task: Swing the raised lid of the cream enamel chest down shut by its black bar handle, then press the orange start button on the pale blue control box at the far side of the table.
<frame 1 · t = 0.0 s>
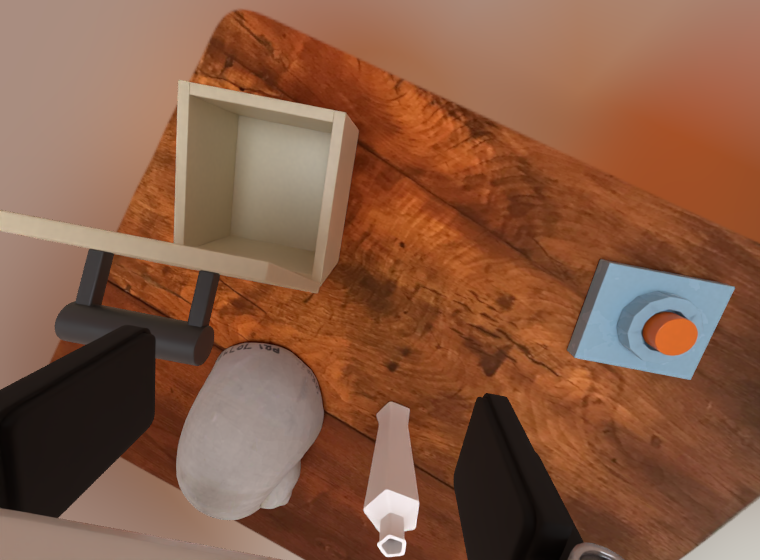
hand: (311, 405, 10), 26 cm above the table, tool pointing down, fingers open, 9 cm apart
chest: (289, 188, 34), on the table
perfume bottle: (395, 416, 41), on the table
lid: (193, 299, 20), point 16 cm above the table, hinge at 70.0°
grey rounded lump: (264, 406, 41), on the table
start button: (669, 333, 32), point 4 cm above the table, slide at 0.1 cm
control box: (640, 317, 36), on the table
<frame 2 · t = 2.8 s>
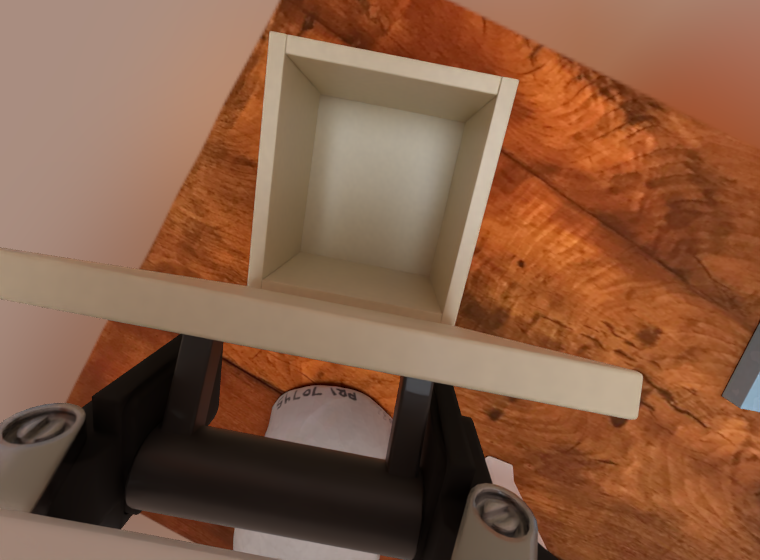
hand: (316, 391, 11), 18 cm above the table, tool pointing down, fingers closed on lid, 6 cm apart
chest: (378, 190, 26), on the table
perfume bottle: (492, 473, 33), on the table
lid: (324, 377, 12), point 16 cm above the table, hinge at 70.0°, touching gripper
grey rounded lump: (330, 460, 33), on the table
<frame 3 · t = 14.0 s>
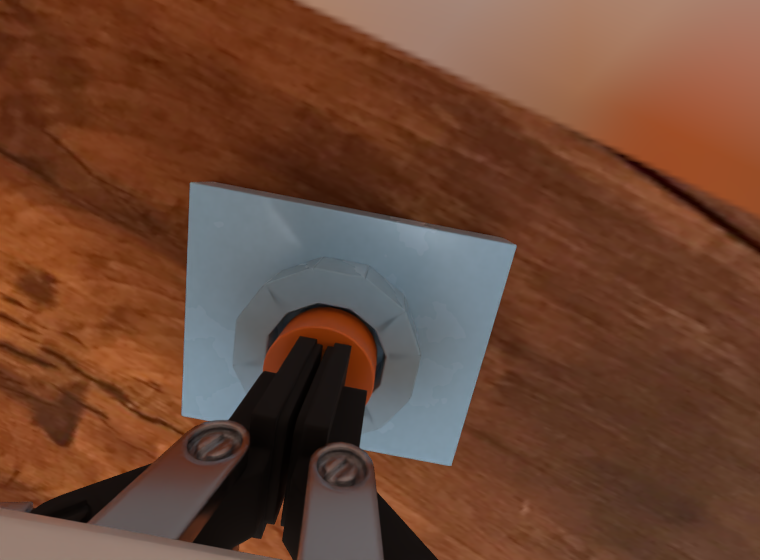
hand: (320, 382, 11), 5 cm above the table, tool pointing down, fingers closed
start button: (323, 364, 12), point 4 cm above the table, slide at -0.1 cm, touching gripper
control box: (339, 322, 16), on the table
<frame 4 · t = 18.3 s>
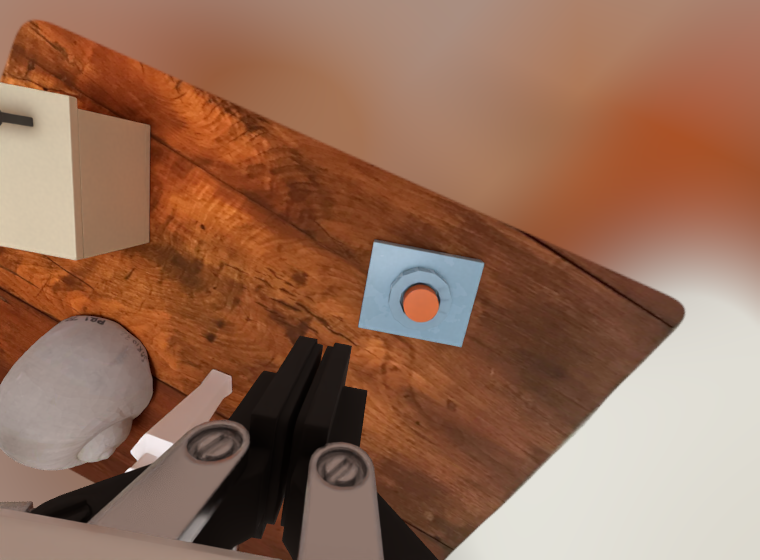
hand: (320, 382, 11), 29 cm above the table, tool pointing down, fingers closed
chest: (97, 176, 39), on the table
perfume bottle: (220, 383, 45), on the table
grey rounded lump: (105, 375, 46), on the table
start button: (420, 303, 37), point 4 cm above the table, slide at 0.1 cm
control box: (418, 291, 41), on the table
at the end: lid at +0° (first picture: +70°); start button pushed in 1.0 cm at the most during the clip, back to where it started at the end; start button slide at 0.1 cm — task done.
